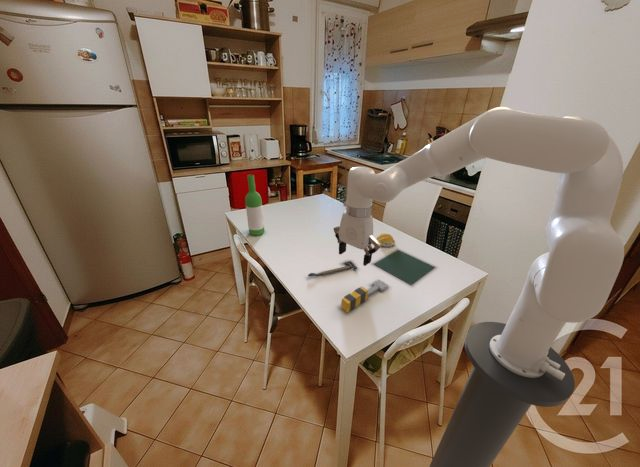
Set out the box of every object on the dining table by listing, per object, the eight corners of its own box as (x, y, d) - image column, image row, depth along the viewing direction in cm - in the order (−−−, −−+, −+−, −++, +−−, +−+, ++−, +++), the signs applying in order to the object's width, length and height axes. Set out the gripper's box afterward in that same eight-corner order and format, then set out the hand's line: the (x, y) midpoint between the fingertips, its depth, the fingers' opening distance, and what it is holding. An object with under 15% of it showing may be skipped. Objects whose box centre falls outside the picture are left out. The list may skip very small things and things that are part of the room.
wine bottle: (266, 229, 138) (261, 173, 125) (262, 236, 132) (256, 178, 118) (252, 228, 139) (245, 172, 125) (247, 235, 132) (239, 177, 118)
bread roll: (391, 238, 132) (392, 231, 130) (395, 247, 124) (397, 239, 122) (374, 238, 132) (375, 230, 130) (378, 247, 124) (379, 239, 122)
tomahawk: (350, 262, 113) (350, 260, 113) (357, 270, 108) (357, 267, 107) (304, 271, 107) (304, 268, 106) (309, 279, 101) (309, 276, 101)
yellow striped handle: (387, 287, 98) (388, 278, 96) (348, 314, 86) (349, 304, 84) (378, 281, 101) (379, 273, 99) (339, 306, 89) (340, 297, 87)
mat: (434, 267, 110) (434, 267, 110) (411, 284, 99) (411, 284, 99) (398, 250, 122) (398, 249, 122) (373, 264, 111) (373, 263, 111)
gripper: (328, 205, 80) (326, 253, 88) (377, 222, 70) (370, 274, 78) (342, 199, 85) (340, 244, 93) (390, 214, 75) (383, 263, 83)
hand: (354, 258), depth 86 cm, fingers open, 9 cm apart
